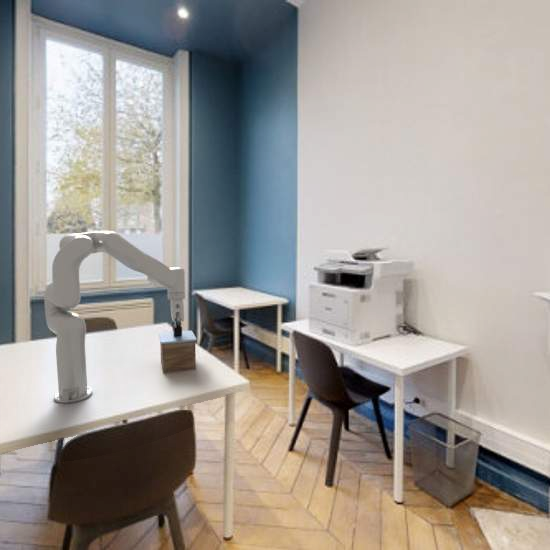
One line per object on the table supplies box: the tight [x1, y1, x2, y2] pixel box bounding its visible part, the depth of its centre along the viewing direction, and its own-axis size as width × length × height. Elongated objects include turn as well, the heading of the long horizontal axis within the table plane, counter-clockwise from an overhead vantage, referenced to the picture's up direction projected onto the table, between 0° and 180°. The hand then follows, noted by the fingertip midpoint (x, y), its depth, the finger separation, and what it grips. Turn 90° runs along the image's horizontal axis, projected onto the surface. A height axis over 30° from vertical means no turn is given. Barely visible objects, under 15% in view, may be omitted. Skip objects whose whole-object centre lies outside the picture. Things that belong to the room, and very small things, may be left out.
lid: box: [158, 324, 197, 344], centre depth 176 cm, size 15×15×6 cm
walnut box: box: [160, 341, 197, 374], centre depth 177 cm, size 14×14×13 cm
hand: (177, 333), depth 176 cm, fingers open, 8 cm apart
